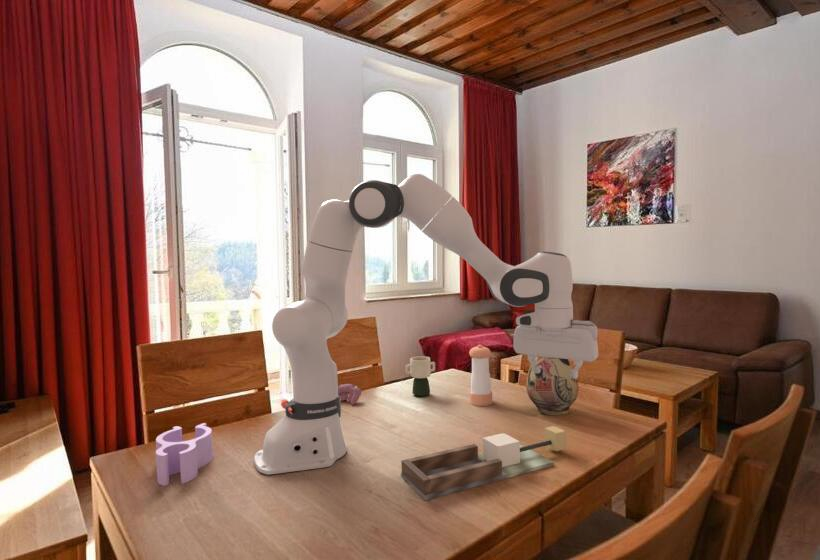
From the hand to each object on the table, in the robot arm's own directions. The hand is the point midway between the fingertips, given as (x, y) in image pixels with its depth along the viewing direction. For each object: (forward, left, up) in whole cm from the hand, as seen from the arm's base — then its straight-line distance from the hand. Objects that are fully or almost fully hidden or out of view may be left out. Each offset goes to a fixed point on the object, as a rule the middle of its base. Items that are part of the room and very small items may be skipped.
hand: (554, 375), depth 119 cm
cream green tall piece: (-7, +60, -19) cm, 63 cm away
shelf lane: (-22, 0, -19) cm, 29 cm away
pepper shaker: (+6, +42, -19) cm, 46 cm away
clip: (-83, +37, -19) cm, 93 cm away
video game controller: (-32, +66, -19) cm, 76 cm away
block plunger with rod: (-9, 0, -18) cm, 20 cm away
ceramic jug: (+20, +23, -19) cm, 36 cm away
